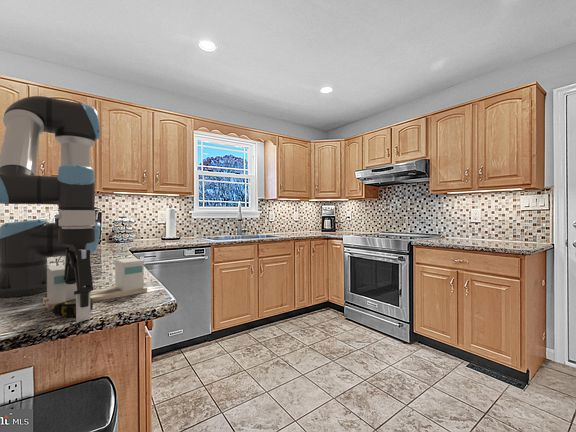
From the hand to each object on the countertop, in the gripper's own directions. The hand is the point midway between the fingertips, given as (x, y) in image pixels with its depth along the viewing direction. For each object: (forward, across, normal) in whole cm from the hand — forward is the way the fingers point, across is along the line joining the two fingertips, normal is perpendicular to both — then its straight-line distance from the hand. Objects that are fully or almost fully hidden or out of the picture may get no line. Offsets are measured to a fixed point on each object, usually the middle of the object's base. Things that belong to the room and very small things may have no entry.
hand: (77, 313), depth 74 cm
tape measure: (+1, -1, -1) cm, 1 cm away
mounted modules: (-1, -14, +8) cm, 16 cm away
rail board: (0, -14, +8) cm, 17 cm away
